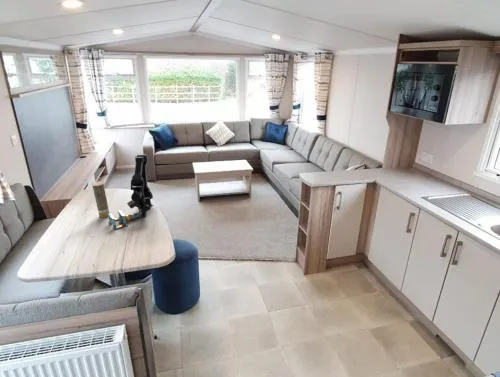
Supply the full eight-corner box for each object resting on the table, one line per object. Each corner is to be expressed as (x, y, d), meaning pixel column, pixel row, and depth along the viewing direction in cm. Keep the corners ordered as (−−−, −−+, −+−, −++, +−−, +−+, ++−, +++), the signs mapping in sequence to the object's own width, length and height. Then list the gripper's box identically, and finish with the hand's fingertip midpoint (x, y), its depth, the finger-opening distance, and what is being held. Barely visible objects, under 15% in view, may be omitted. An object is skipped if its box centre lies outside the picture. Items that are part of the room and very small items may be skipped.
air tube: (120, 224, 208) (119, 218, 206) (118, 222, 211) (117, 216, 209) (146, 216, 218) (146, 211, 217) (144, 214, 221) (143, 209, 220)
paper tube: (111, 213, 223) (105, 181, 213) (106, 218, 216) (99, 185, 206) (102, 213, 223) (95, 181, 213) (97, 218, 217) (90, 185, 207)
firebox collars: (108, 221, 212) (106, 212, 209) (121, 218, 216) (119, 208, 213) (115, 230, 202) (113, 220, 199) (127, 226, 206) (125, 216, 203)
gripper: (123, 193, 214) (126, 213, 220) (132, 203, 201) (135, 224, 207) (139, 189, 221) (142, 209, 227) (149, 198, 207) (152, 218, 213)
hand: (142, 215), depth 218 cm, fingers closed on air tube, 4 cm apart
